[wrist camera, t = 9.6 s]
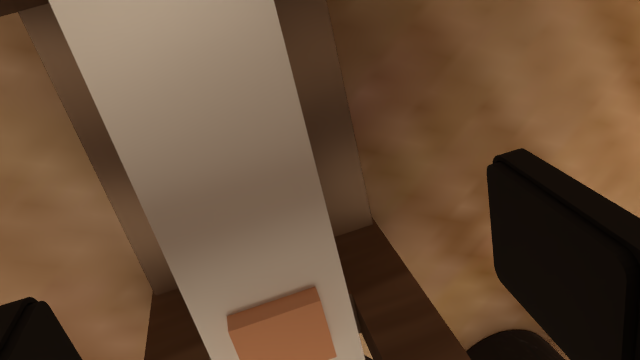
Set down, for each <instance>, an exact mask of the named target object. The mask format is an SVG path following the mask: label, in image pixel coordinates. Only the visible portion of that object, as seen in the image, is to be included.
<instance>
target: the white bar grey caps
mask: <svg viewBox="0 0 640 360" xmlns="http://www.w3.org/2000/svg"><path fill="white" fill-rule="evenodd" d="M48 1H49V3H50V5H51V7H52V10H53V12H54V14H55V16H56V18H57V21H58V23H59V25H60V27H61V29H62V32H63V34H64V36H65V38H66V40H67V43H68V45H69V47H70V49H71V51H72V54H73V56H74V58H75V60H76V63H77V65H78V67H79V69H80V71H81V74H82V76H83V78H84V80H85V82H86V85H87V87H88V89H89V91H90V93H91V96H92V98H93V100H94V102H95V104H96V107H97V109H98V111H99V113H100V115H101V118H102V120H103V122H104V124H105V126H106V129H107V131H108V133H109V135H110V138H111V140H112V142H113V144H114V146H115V149H116V151H117V153H118V155H119V157H120V160H121V162H122V164H123V166H124V168H125V171H126V173H127V175H128V177H129V179H130V182H131V184H132V186H133V188H134V190H135V193H136V195H137V197H138V199H139V201H140V204H141V206H142V208H143V210H144V213H145V215H146V217H147V219H148V221H149V224H150V226H151V228H152V230H153V232H154V235H155V237H156V239H157V241H158V243H159V246H160V248H161V250H162V252H163V254H164V257H165V259H166V261H167V263H168V265H169V268H170V270H171V272H172V274H173V276H174V279H175V281H176V283H177V285H178V288H179V290H180V292H181V294H182V296H183V299H184V301H185V303H186V305H187V307H188V310H189V312H190V314H191V316H192V318H193V321H194V323H195V325H196V327H197V329H198V332H199V334H200V336H201V338H202V340H203V343H204V345H205V347H206V349H207V351H208V354H209V356H210V358H211V360H373V359H371V358H369V357H367V356H365V355H364V353H363V349H362V345H361V341H360V337H359V333H358V329H357V325H356V321H355V318H354V314H353V310H352V306H351V302H350V298H349V294H348V290H347V286H346V282H345V278H344V274H343V270H342V266H341V263H340V259H339V255H338V251H337V247H336V243H335V239H334V235H333V231H332V227H331V223H330V219H329V215H328V211H327V208H326V204H325V200H324V196H323V192H322V188H321V184H320V180H319V176H318V172H317V168H316V164H315V160H314V156H313V153H312V149H311V145H310V141H309V137H308V133H307V129H306V125H305V121H304V117H303V113H302V109H301V105H300V101H299V98H298V94H297V90H296V86H295V82H294V78H293V74H292V70H291V66H290V62H289V58H288V54H287V50H286V46H285V42H284V39H283V35H282V31H281V27H280V23H279V19H278V15H277V11H276V7H275V3H274V0H48Z"/></svg>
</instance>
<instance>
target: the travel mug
mask: <svg viewBox="0 0 640 360" xmlns="http://www.w3.org/2000/svg"><path fill="white" fill-rule="evenodd" d="M466 353H467V354H468V356H469V357H470V359H471V360H565V359H564V358H563V357H562V356H561V355H560V354H559V353H558V352H557V351H556V350H555V349H554V348H553V347H552V346H551V345H550V344H549V343H547V342H546V341H545V340H544V339H543V338H542V337H540V336H539V335H537V334H535V333H532V332H529V331H524V330H512V331H505V332H501V333H498V334H495V335H492V336H490V337H488V338H486V339H484V340H482V341H481V342H479V343H477V344H476V345H475V346H473V347H472V348H471V349H470V350H468V351H467V352H466Z"/></svg>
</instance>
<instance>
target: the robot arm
mask: <svg viewBox="0 0 640 360" xmlns="http://www.w3.org/2000/svg"><path fill="white" fill-rule="evenodd" d="M487 183H488V195H489V207H490V219H491V231H492V244H493V256H494V267H495V271H496V274H497V276H498V278H499V280H500V281H501V283H502V284H503V285H504V286H505V287H506V288H507V289H508V291H509V292H510V293H511V294H512V295H513V296H514V297H515V298H516V299H517V301H518V302H519V303H520V304H521V305H522V306H523V307H524V308H525V309H526V311H527V312H528V313H529V314H530V315H531V316H532V317H533V318H534V320H535V321H536V322H537V323H538V324H539V325H540V326H541V327H542V328H543V330H544V331H545V332H546V333H547V334H548V335H549V336H550V337H551V338H552V340H553V341H554V342H555V343H556V344H557V345H558V346H559V347H560V349H561V350H562V351H563V352H564V353H565V354H566V355H567V356H568V357H569V359H570V360H640V218H638V217H637V216H635V215H633V214H632V213H630V212H628V211H627V210H625V209H623V208H622V207H620V206H618V205H617V204H615V203H613V202H612V201H610V200H608V199H607V198H605V197H603V196H602V195H600V194H598V193H597V192H595V191H593V190H592V189H590V188H588V187H587V186H585V185H583V184H582V183H580V182H578V181H577V180H575V179H573V178H572V177H570V176H568V175H567V174H565V173H563V172H562V171H560V170H558V169H557V168H555V167H553V166H552V165H550V164H548V163H547V162H545V161H543V160H542V159H540V158H539V157H537V156H535V155H534V154H532V153H530V152H529V151H527V150H525V149H522V148H521V149H517V150H514V151H511V152H507V153H504V154H501V155H497V156H495V157H494V159H493V164H491V165H489V166H488V167H487ZM0 360H82V359H81V357H80V355H79V354H78V352H77V350H76V349H75V347H74V346H73V344H72V342H71V341H70V339H69V337H68V336H67V334H66V333H65V331H64V329H63V328H62V326H61V324H60V323H59V321H58V320H57V318H56V316H55V315H54V313H53V311H52V310H51V308H50V307H49V305H48V304H47V303H46V302H44V301H39V302H38V301H37V300H36V299H34V298H32V297H27V298H24V299H21V300H18V301H14V302H11V303H8V304H4V305H1V306H0Z"/></svg>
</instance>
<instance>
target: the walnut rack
mask: <svg viewBox="0 0 640 360" xmlns="http://www.w3.org/2000/svg"><path fill="white" fill-rule="evenodd" d="M274 3H275V7H276V11H277V15H278V19H279V23H280V27H281V31H282V35H283V39H284V42H285V46H286V50H287V54H288V58H289V62H290V66H291V70H292V74H293V78H294V82H295V86H296V90H297V94H298V98H299V101H300V105H301V109H302V113H303V117H304V121H305V125H306V129H307V133H308V137H309V141H310V145H311V149H312V153H313V156H314V160H315V164H316V168H317V172H318V176H319V180H320V184H321V188H322V192H323V196H324V200H325V204H326V208H327V211H328V215H329V219H330V223H331V227H332V231H333V235H334V239H335V243H336V247H337V251H338V255H339V259H340V263H341V266H342V270H343V274H344V278H345V282H346V286H347V290H348V294H349V298H350V302H351V306H352V310H353V314H354V318H355V321H356V325H357V329H358V333H362V335H363V337H364V339H365V342H366V344H367V346H368V348H369V351H370V353H371V355H372V357H373V359H374V360H471V359H470V357H469V356H468V354H467V353H466V351H465V350H464V349H463V347H462V346H461V344H460V343H459V341H458V340H457V339H456V337H455V336H454V334H453V333H452V331H451V330H450V329H449V327H448V326H447V324H446V323H445V321H444V320H443V318H442V317H441V316H440V314H439V313H438V311H437V310H436V308H435V307H434V306H433V304H432V303H431V301H430V300H429V298H428V297H427V296H426V294H425V293H424V291H423V290H422V288H421V287H420V286H419V284H418V283H417V281H416V280H415V278H414V277H413V275H412V274H411V273H410V271H409V270H408V268H407V267H406V265H405V264H404V263H403V261H402V260H401V258H400V257H399V255H398V254H397V253H396V251H395V250H394V248H393V247H392V245H391V244H390V243H389V241H388V240H387V238H386V237H385V235H384V234H383V232H382V231H381V230H380V228H379V227H378V225H377V224H376V222H375V221H374V220H373V218H372V217H371V212H370V207H369V203H368V198H367V193H366V188H365V183H364V179H363V174H362V169H361V164H360V159H359V155H358V150H357V145H356V140H355V135H354V131H353V126H352V121H351V116H350V111H349V107H348V102H347V97H346V92H345V87H344V83H343V78H342V73H341V68H340V63H339V59H338V54H337V49H336V44H335V39H334V35H333V30H332V25H331V20H330V15H329V10H328V6H327V1H326V0H274ZM15 12H18V13H19V15H20V17H21V19H22V21H23V23H24V26H25V28H26V30H27V32H28V34H29V36H30V38H31V40H32V42H33V44H34V46H35V48H36V50H37V52H38V54H39V56H40V58H41V61H42V63H43V65H44V67H45V69H46V71H47V73H48V75H49V77H50V79H51V81H52V83H53V85H54V87H55V89H56V91H57V94H58V96H59V98H60V100H61V102H62V104H63V106H64V108H65V110H66V112H67V114H68V116H69V118H70V120H71V122H72V124H73V126H74V129H75V131H76V133H77V135H78V137H79V139H80V141H81V143H82V145H83V147H84V149H85V151H86V153H87V155H88V157H89V159H90V162H91V164H92V166H93V168H94V170H95V172H96V174H97V176H98V178H99V180H100V182H101V184H102V186H103V188H104V190H105V192H106V195H107V197H108V199H109V201H110V203H111V205H112V207H113V209H114V211H115V213H116V215H117V217H118V219H119V221H120V223H121V225H122V227H123V230H124V232H125V234H126V236H127V238H128V240H129V242H130V244H131V246H132V248H133V250H134V252H135V254H136V256H137V258H138V260H139V263H140V265H141V267H142V269H143V271H144V273H145V275H146V277H147V279H148V281H149V283H150V285H151V287H152V289H153V295H152V303H151V310H150V318H149V326H148V334H147V342H146V349H145V357H144V360H211V358H210V356H209V354H208V351H207V349H206V347H205V345H204V343H203V340H202V338H201V336H200V334H199V332H198V329H197V327H196V325H195V323H194V321H193V318H192V316H191V314H190V312H189V310H188V307H187V305H186V303H185V301H184V299H183V296H182V294H181V292H180V290H179V288H178V285H177V283H176V281H175V279H174V276H173V274H172V272H171V270H170V268H169V265H168V263H167V261H166V259H165V257H164V254H163V252H162V250H161V248H160V246H159V243H158V241H157V239H156V237H155V235H154V232H153V230H152V228H151V226H150V224H149V221H148V219H147V217H146V215H145V213H144V210H143V208H142V206H141V204H140V201H139V199H138V197H137V195H136V193H135V190H134V188H133V186H132V184H131V182H130V179H129V177H128V175H127V173H126V171H125V168H124V166H123V164H122V162H121V160H120V157H119V155H118V153H117V151H116V149H115V146H114V144H113V142H112V140H111V138H110V135H109V133H108V131H107V129H106V126H105V124H104V122H103V120H102V118H101V115H100V113H99V111H98V109H97V107H96V104H95V102H94V100H93V98H92V96H91V93H90V91H89V89H88V87H87V85H86V82H85V80H84V78H83V76H82V74H81V71H80V69H79V67H78V65H77V63H76V60H75V58H74V56H73V54H72V51H71V49H70V47H69V45H68V43H67V40H66V38H65V36H64V34H63V32H62V29H61V27H60V25H59V23H58V21H57V18H56V16H55V14H54V12H53V10H52V7H51V5H50V3H49V1H48V0H0V16H4V15H8V14H11V13H15Z"/></svg>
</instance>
